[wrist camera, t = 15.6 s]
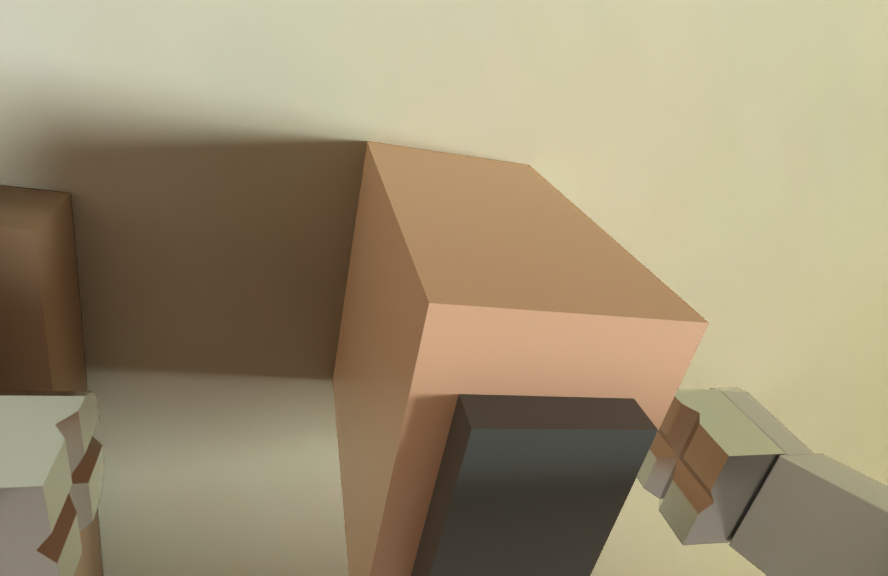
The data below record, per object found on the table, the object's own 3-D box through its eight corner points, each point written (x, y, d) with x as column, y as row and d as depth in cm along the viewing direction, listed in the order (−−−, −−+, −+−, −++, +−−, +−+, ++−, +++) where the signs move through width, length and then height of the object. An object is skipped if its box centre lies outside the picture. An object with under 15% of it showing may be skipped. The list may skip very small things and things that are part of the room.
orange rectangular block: (528, 164, 11) (739, 350, 6) (469, 383, 13) (582, 660, 8) (366, 141, 10) (441, 333, 5) (333, 378, 12) (357, 686, 7)
